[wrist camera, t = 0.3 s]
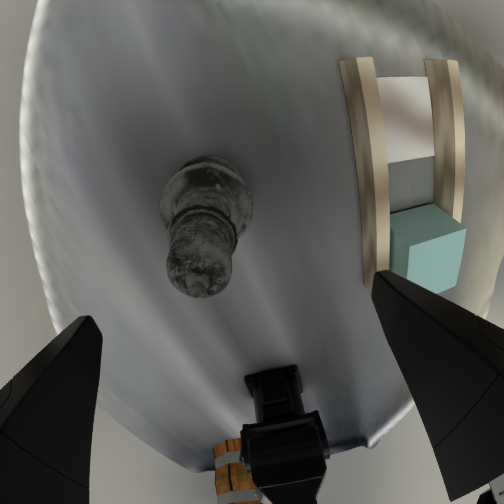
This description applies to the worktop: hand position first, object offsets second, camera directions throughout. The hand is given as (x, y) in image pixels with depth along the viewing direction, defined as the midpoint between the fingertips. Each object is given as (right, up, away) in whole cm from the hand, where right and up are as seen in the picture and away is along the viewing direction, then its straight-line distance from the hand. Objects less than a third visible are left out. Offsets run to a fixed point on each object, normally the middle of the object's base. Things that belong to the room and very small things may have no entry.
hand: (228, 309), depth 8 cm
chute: (+14, +8, +13) cm, 21 cm away
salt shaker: (-3, +6, +13) cm, 14 cm away
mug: (0, -33, +37) cm, 49 cm away
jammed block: (+15, +3, +16) cm, 22 cm away
